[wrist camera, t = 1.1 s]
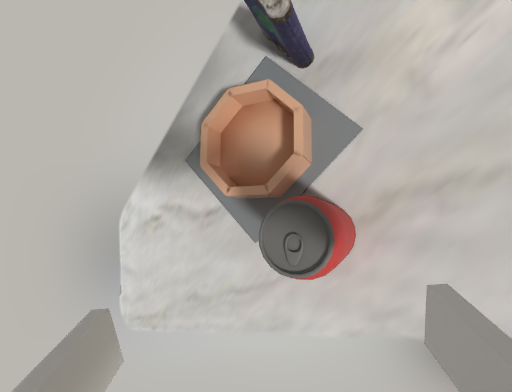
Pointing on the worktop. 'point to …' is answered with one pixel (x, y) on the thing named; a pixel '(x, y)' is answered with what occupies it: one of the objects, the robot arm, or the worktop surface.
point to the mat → (323, 148)
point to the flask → (283, 28)
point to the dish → (256, 141)
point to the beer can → (306, 237)
